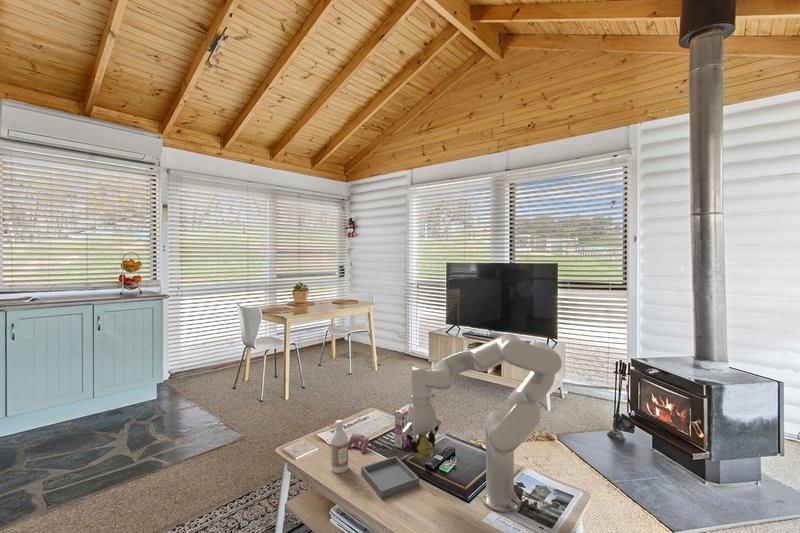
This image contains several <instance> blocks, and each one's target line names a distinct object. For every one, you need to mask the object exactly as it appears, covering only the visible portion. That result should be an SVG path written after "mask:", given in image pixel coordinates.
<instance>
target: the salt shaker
mask: <svg viewBox="0 0 800 533" xmlns="http://www.w3.org/2000/svg"><path fill="white" fill-rule="evenodd" d="M429 433H430V432H429V431H427V432H423V433H420V434H417V436H416V439H415V442H416V453H413V452H412V456H413V457H414V458H415V459H418V460H423V461H424V460H428V459H430V458H432V456H434V455H433V454H434V453H433V451H434V447H432V445H433V443H432V441H431V440H430V439H428V434H429Z"/></svg>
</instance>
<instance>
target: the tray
mask: <svg viewBox="0 0 800 533" xmlns="http://www.w3.org/2000/svg"><path fill="white" fill-rule="evenodd" d="M360 474H361V477H363V479H364V480H365V481H366V483H368V485H369V486H370V487H371V488H372V490H373V491H374V492H375V493H376V494H377V496H378V497H379V498H380V500H384V499H387V498H390V497H392V496H394V495H397V494H401V493H402V492H406V491H408V490H410V489H414V488H417V487H419V486H420V477H419V476H418V475H417V474H415V472H414V471H413V470H412V469H410V468H409V467H408V466H407V465H406V464H405V463H404V461H402V460H401V459H400V458H398V456H396V455H395V456H391V457H389V458H385V459H381V460H379V461H376V462H373V463H369V464H366V465H363V466H361V467H360Z"/></svg>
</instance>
